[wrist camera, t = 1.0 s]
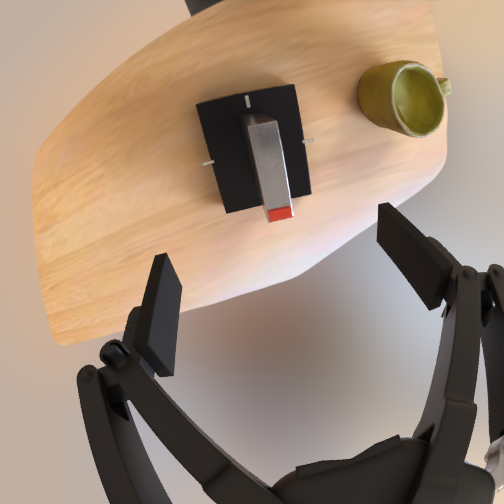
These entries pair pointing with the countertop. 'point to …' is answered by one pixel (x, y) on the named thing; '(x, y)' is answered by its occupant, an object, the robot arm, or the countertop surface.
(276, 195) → the tap handle
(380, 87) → the mug
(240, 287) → the countertop surface
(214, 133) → the base
